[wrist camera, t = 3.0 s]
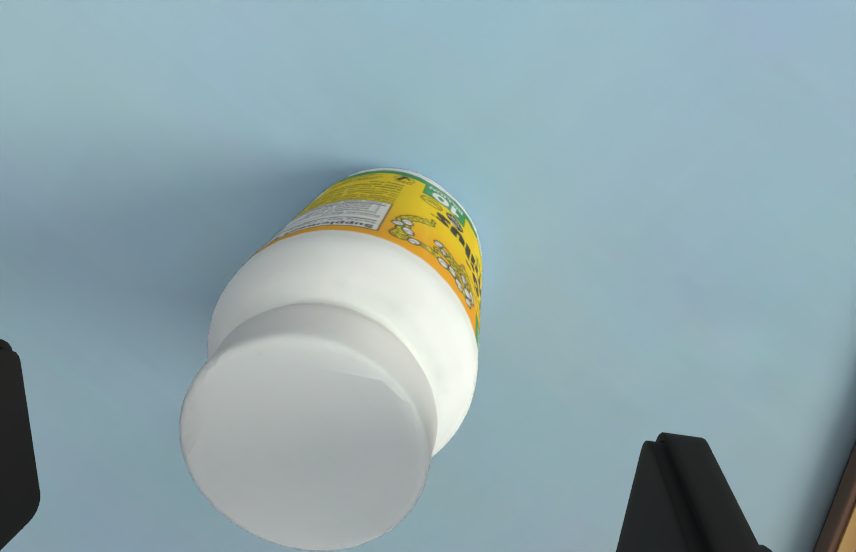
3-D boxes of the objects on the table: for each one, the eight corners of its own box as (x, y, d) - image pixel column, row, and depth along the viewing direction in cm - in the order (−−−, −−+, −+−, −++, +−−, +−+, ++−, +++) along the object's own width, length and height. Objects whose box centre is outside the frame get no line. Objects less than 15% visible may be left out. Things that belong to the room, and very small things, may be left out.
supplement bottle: (283, 181, 18) (81, 313, 9) (467, 149, 18) (439, 260, 9) (326, 348, 20) (191, 595, 11) (496, 327, 19) (498, 574, 10)
